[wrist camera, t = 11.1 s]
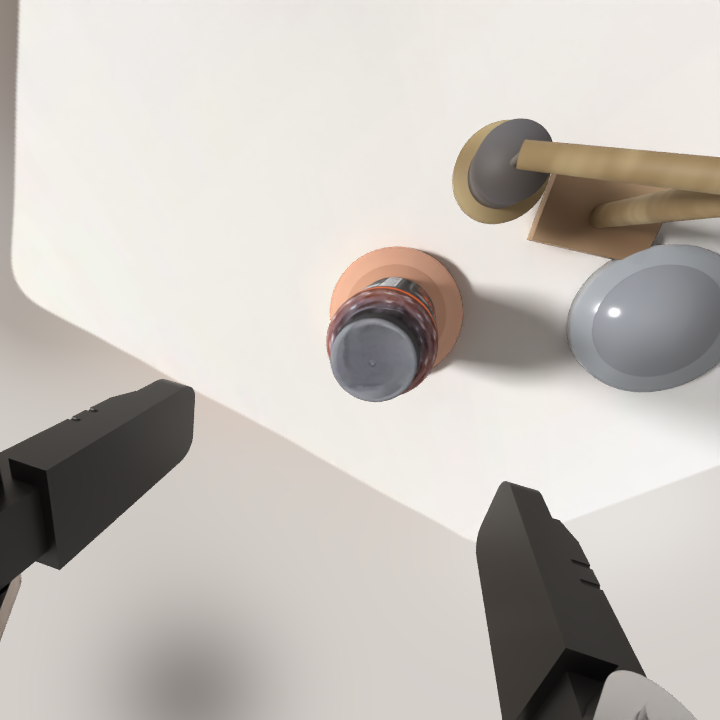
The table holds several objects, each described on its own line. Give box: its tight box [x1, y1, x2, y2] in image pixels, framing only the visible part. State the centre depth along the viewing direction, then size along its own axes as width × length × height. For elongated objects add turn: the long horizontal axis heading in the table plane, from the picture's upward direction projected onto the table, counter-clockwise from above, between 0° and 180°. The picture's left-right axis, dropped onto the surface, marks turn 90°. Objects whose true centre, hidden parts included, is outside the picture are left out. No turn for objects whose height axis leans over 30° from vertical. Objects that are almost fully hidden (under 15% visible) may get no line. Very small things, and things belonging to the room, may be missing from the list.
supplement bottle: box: [327, 277, 438, 402], centre depth 21 cm, size 6×6×11 cm
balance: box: [452, 119, 720, 262], centre depth 15 cm, size 5×20×17 cm, turn 77°
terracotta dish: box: [330, 247, 463, 368], centre depth 27 cm, size 10×10×1 cm
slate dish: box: [567, 244, 720, 392], centre depth 24 cm, size 10×10×1 cm
